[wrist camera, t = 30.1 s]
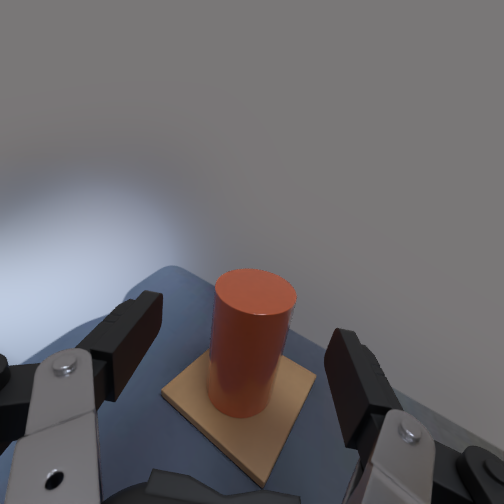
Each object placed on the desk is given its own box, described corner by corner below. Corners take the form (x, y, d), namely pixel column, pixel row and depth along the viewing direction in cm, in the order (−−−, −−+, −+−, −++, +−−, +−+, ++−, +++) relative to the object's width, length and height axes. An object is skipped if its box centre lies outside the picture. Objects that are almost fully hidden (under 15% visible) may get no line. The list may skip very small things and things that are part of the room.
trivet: (233, 331, 28) (234, 326, 27) (314, 380, 23) (316, 375, 23) (161, 395, 20) (160, 389, 19) (262, 490, 15) (264, 483, 15)
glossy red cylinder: (267, 357, 24) (286, 271, 20) (278, 418, 19) (307, 317, 15) (208, 356, 23) (216, 265, 19) (203, 418, 18) (212, 312, 14)
